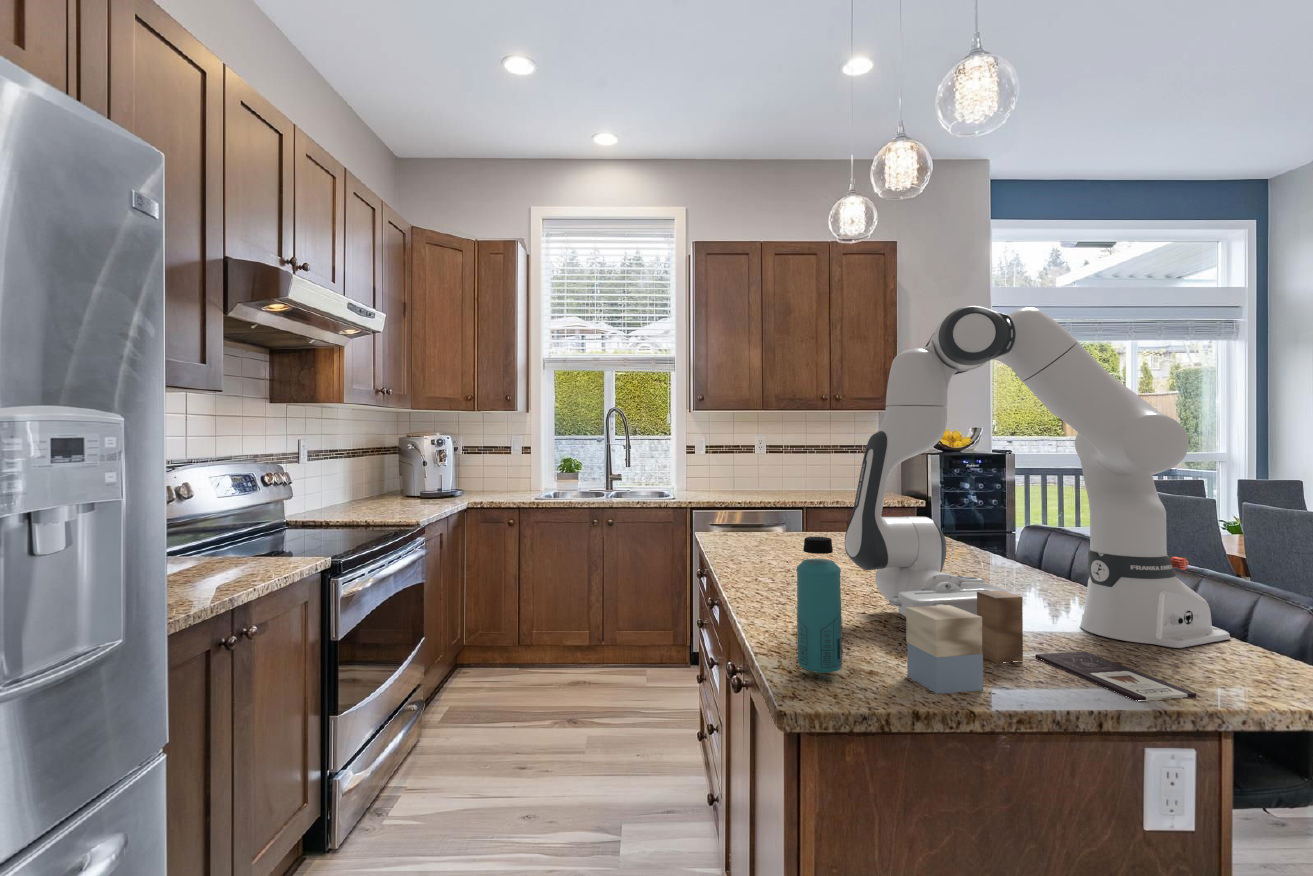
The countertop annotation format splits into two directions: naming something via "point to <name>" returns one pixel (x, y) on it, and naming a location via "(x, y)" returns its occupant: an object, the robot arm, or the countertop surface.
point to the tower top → (944, 630)
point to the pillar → (1001, 625)
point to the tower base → (945, 671)
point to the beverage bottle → (819, 610)
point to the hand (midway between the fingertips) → (988, 615)
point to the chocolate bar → (1115, 676)
